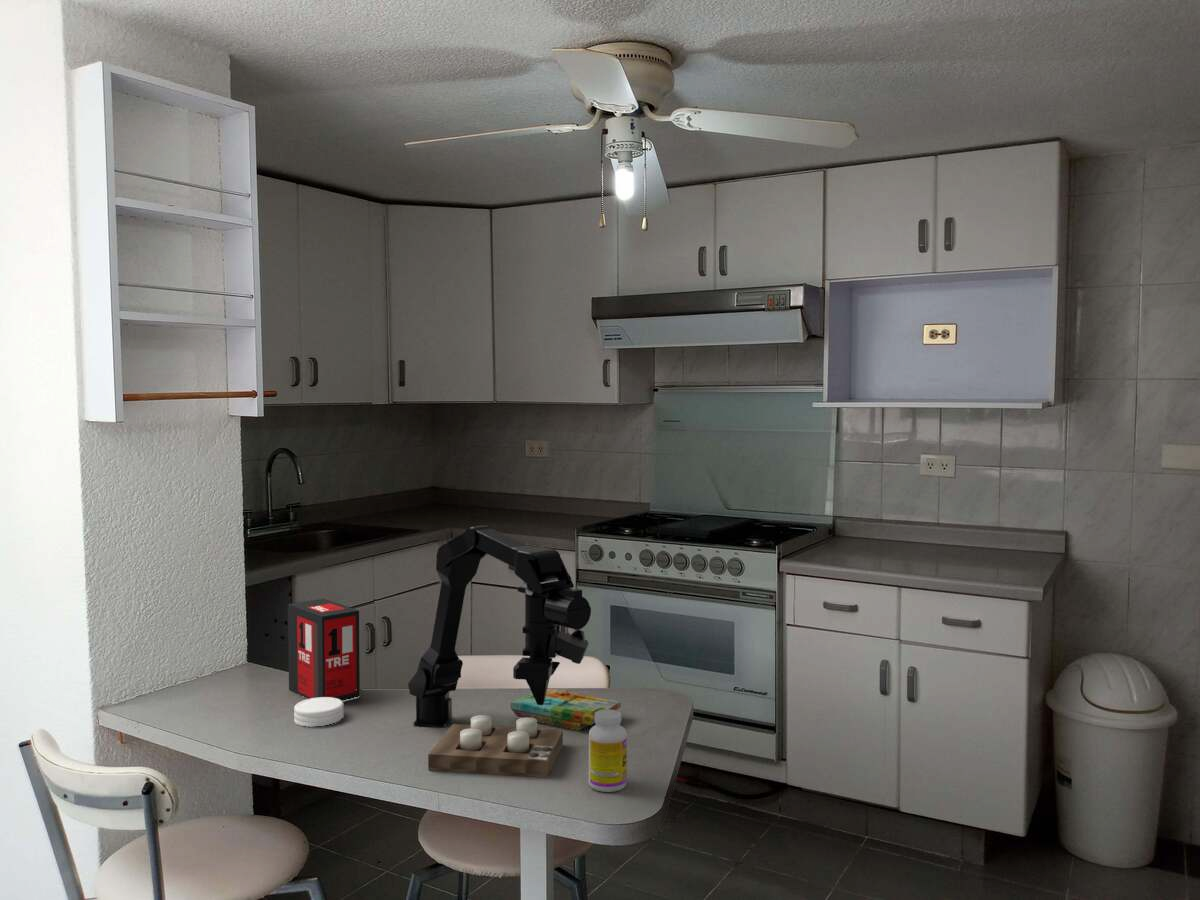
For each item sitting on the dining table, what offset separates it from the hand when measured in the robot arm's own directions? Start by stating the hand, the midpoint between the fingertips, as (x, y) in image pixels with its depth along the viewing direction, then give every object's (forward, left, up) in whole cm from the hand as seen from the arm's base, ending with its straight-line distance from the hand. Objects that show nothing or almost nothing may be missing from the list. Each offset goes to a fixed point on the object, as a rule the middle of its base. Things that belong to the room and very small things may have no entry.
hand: (540, 704), depth 172 cm
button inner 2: (-5, +9, -9) cm, 14 cm away
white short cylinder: (-51, +20, -12) cm, 56 cm away
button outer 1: (-14, +2, -9) cm, 16 cm away
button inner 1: (-14, +9, -9) cm, 19 cm away
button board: (-9, +5, -12) cm, 16 cm away
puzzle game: (0, +28, -12) cm, 30 cm away
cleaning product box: (-57, +36, -12) cm, 68 cm away
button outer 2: (-4, +2, -9) cm, 10 cm away
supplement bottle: (+13, -5, -12) cm, 19 cm away
